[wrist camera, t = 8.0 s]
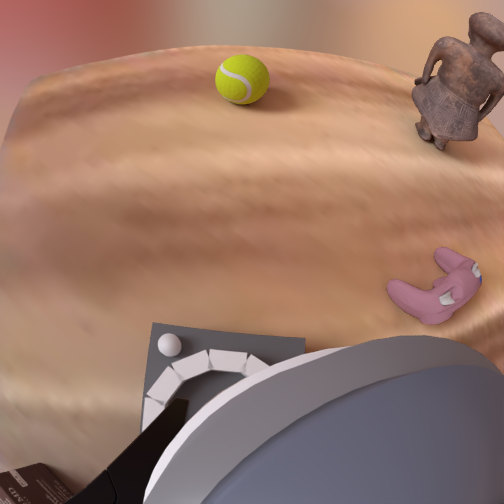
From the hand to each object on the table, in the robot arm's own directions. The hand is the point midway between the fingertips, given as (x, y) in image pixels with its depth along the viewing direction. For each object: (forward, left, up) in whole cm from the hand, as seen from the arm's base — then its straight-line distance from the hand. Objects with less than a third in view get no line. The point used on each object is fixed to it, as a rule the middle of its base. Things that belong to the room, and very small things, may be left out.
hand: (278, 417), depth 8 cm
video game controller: (+6, -20, -14) cm, 25 cm away
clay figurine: (+29, -35, -14) cm, 48 cm away
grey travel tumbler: (-1, 0, -7) cm, 7 cm away
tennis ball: (+34, -5, -14) cm, 37 cm away
